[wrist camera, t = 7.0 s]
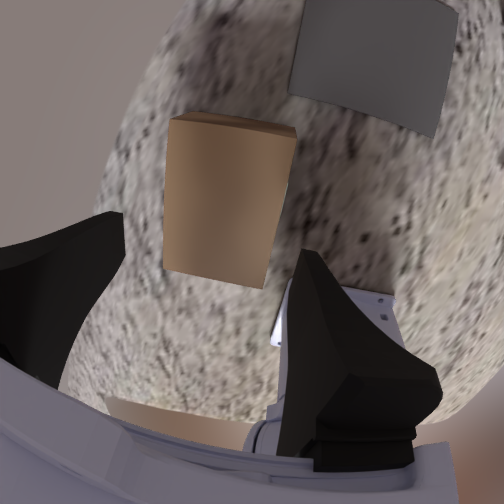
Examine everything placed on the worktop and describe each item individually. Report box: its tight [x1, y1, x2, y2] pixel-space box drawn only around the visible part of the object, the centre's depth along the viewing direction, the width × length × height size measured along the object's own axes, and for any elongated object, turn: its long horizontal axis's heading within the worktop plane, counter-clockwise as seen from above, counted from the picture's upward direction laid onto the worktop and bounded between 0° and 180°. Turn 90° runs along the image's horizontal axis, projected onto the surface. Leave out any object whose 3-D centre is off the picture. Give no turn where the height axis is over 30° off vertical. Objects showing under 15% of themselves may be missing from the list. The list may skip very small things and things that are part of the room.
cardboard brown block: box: [163, 111, 297, 289], centre depth 15 cm, size 6×8×4 cm
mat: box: [288, 0, 459, 139], centre depth 13 cm, size 10×10×1 cm
